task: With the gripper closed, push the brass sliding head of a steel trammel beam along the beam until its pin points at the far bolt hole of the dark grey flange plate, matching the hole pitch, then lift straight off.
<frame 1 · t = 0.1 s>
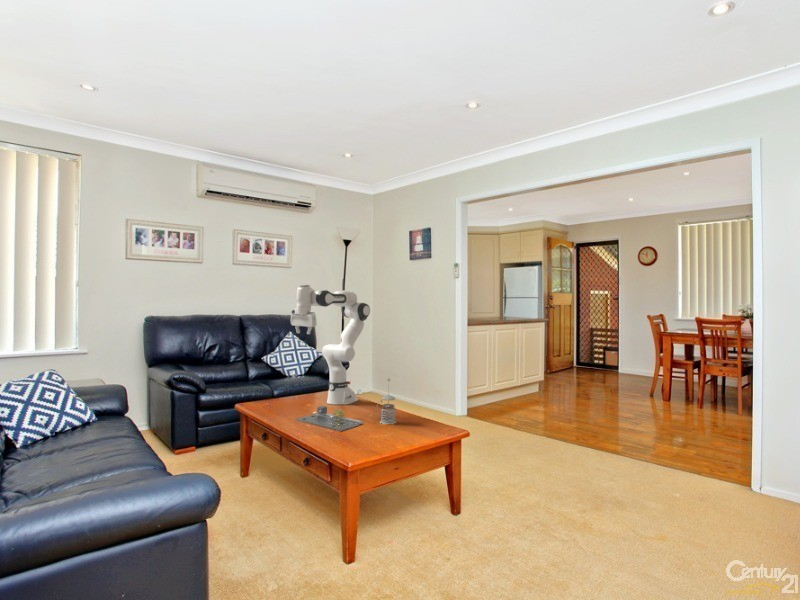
hand: (303, 333, 285), 48 cm above the table, fingers open, 8 cm apart
french press: (386, 422, 262), on the table
trammel beam: (338, 419, 267), on the table
sliding head: (335, 414, 265), point 4 cm above the table, slide at 0.0 cm
flange plate: (326, 422, 259), on the table
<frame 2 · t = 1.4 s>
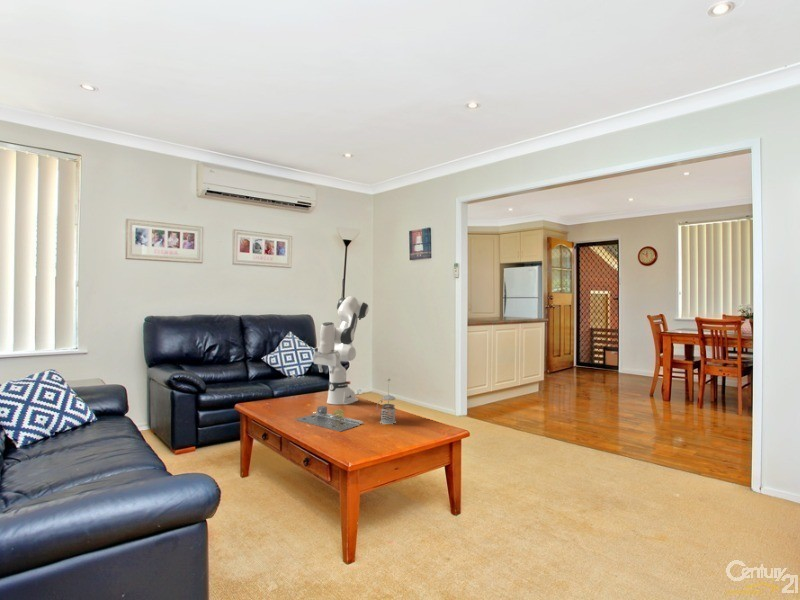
hand: (326, 372, 275), 25 cm above the table, fingers open, 8 cm apart
nothing on the table moved.
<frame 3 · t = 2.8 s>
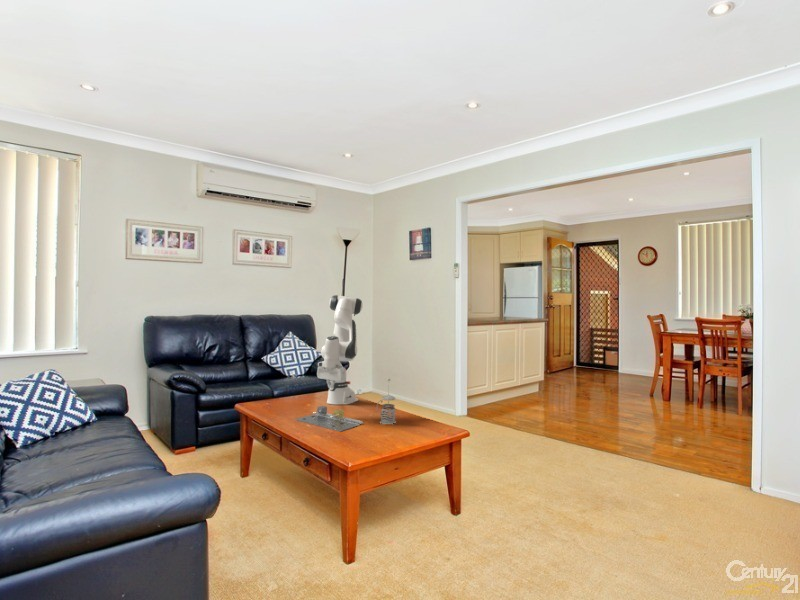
hand: (330, 387, 271), 17 cm above the table, fingers closed
nothing on the table moved.
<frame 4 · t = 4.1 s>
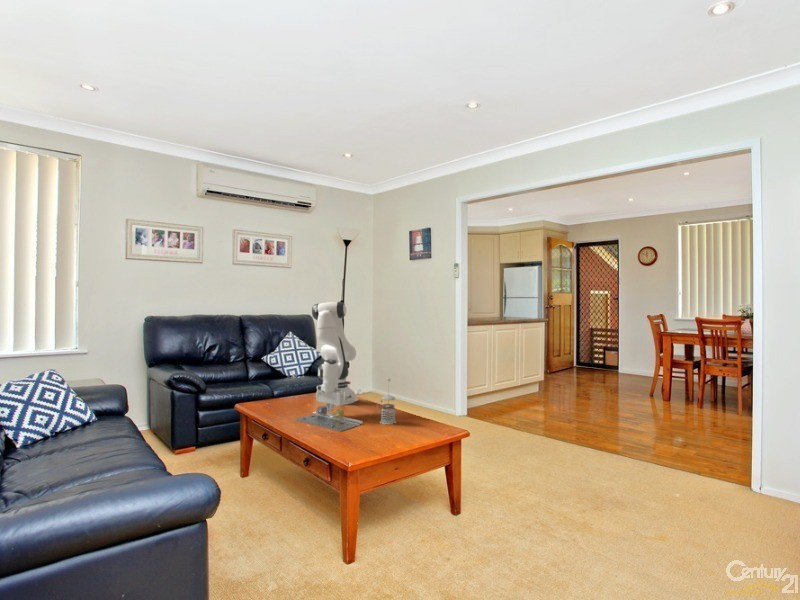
hand: (329, 411, 271), 4 cm above the table, fingers closed
nothing on the table moved.
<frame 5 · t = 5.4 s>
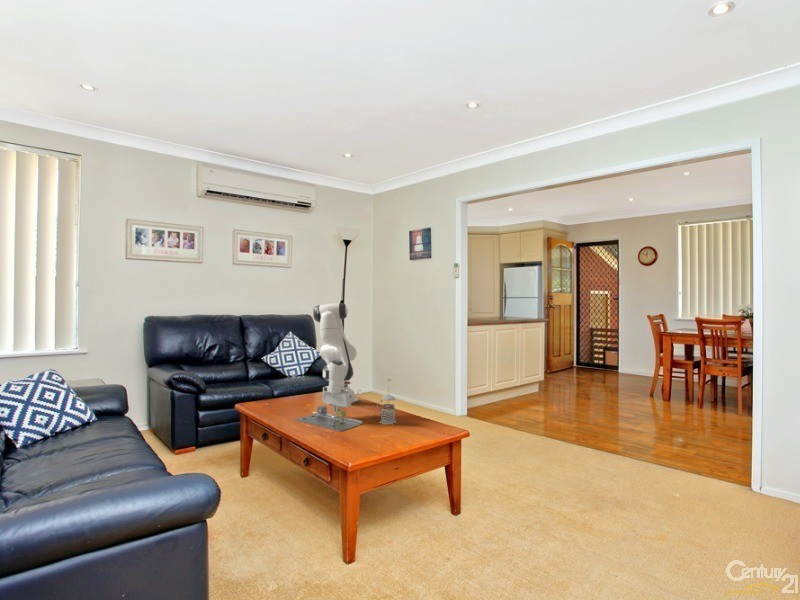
hand: (336, 412, 268), 4 cm above the table, fingers closed
sliding head: (337, 414, 264), point 4 cm above the table, slide at 1.5 cm, touching gripper
everything else where it was.
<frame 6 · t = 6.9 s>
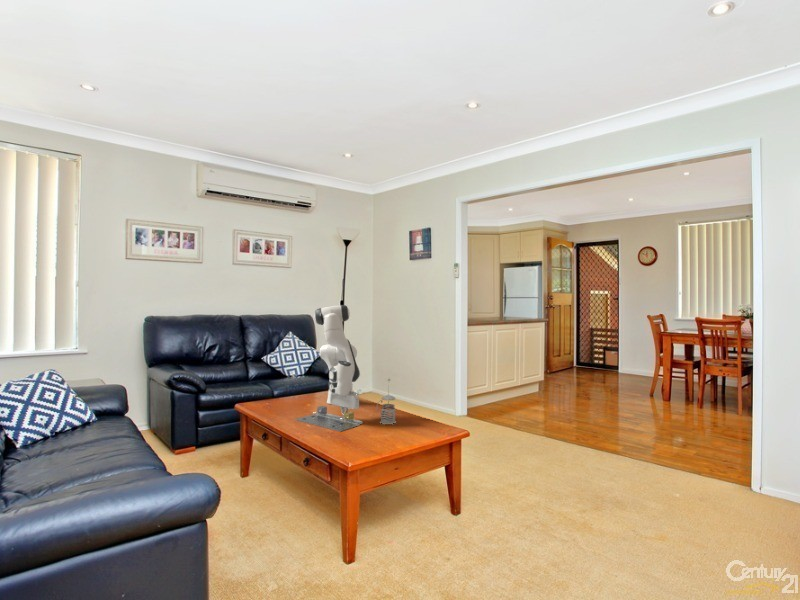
hand: (344, 414, 264), 3 cm above the table, fingers closed
sliding head: (346, 416, 260), point 4 cm above the table, slide at 8.0 cm, touching gripper
everything else where it was.
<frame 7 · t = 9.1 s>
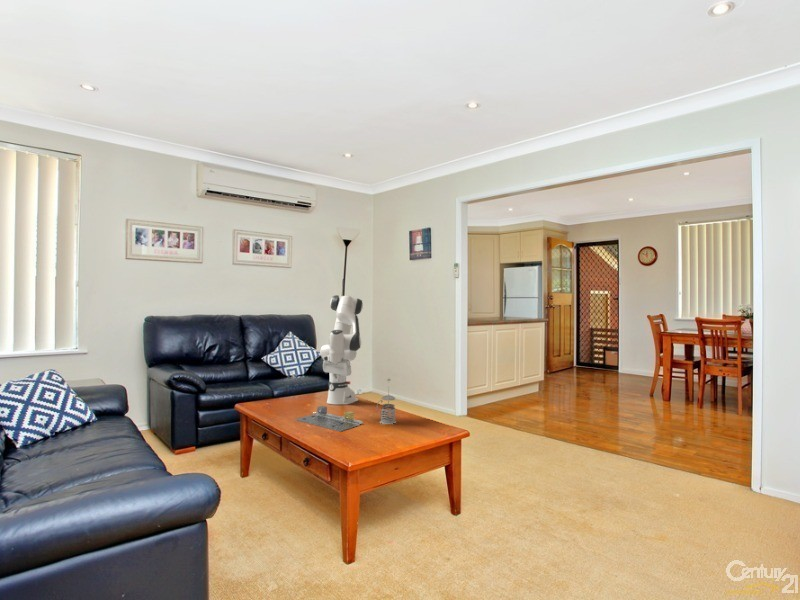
hand: (337, 381, 271), 21 cm above the table, fingers closed
sliding head: (346, 416, 260), point 4 cm above the table, slide at 8.1 cm
everything else where it was.
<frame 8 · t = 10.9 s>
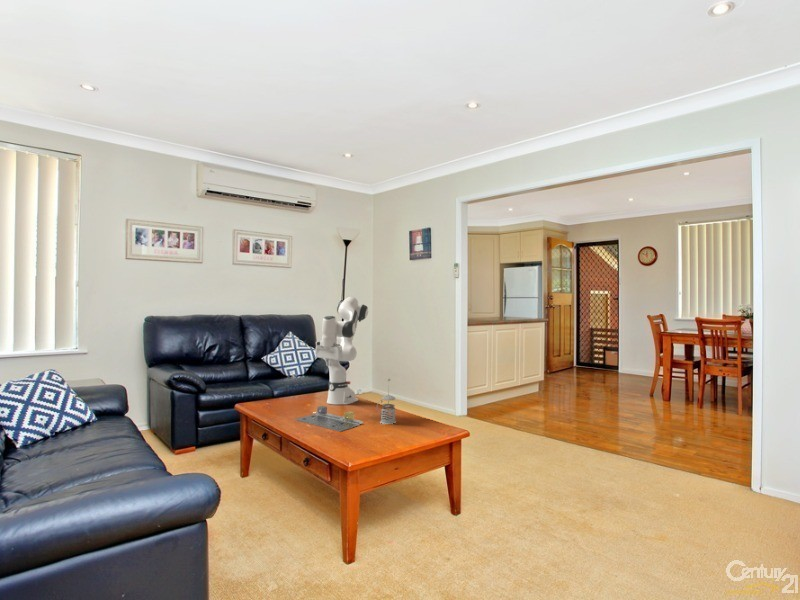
hand: (328, 366, 278), 29 cm above the table, fingers closed
nothing on the table moved.
at the end: sliding head slide at 8.1 cm; sliding head touching nothing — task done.
